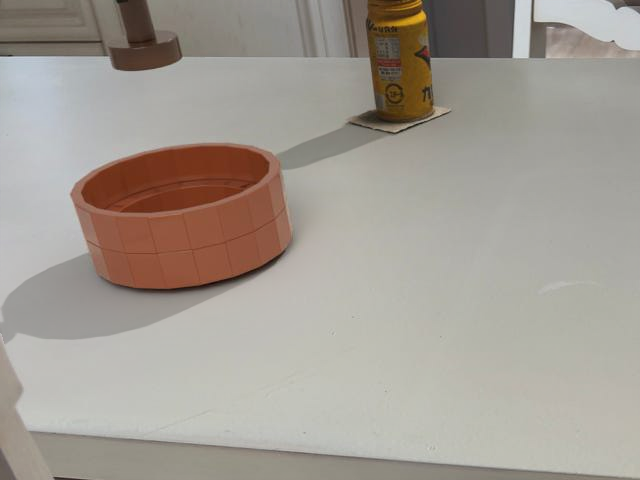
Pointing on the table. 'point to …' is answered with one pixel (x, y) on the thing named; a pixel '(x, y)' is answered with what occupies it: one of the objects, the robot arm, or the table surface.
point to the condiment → (398, 66)
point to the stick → (142, 41)
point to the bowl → (183, 214)
